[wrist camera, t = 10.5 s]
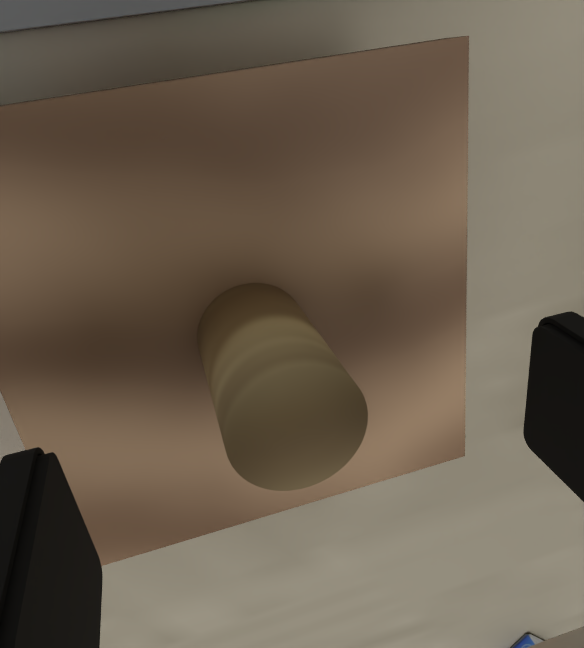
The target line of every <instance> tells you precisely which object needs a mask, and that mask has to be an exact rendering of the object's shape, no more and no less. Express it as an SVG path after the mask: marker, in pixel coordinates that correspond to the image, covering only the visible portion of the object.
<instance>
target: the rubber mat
mask: <svg viewBox="0 0 584 648" xmlns="http://www.w3.org/2000/svg"><path fill="white" fill-rule="evenodd" d="M246 1H254V0H0V33H4V32H11V31H19V30H27V29H35V28H43V27H51V26H58V25H66V24H74V23H82V22H90V21H97V20H105V19H113V18H121V17H129V16H136V15H144V14H152V13H160V12H168V11H176V10H183V9H191V8H199V7H207V6H215V5H222V4H230V3H238V2H246Z"/></svg>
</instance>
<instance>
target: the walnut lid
mask: <svg viewBox="0 0 584 648" xmlns="http://www.w3.org/2000/svg"><path fill="white" fill-rule="evenodd" d="M468 72H469V36H463V37H453V38H444V39H438V40H431V41H424V42H418V43H411V44H405V45H398V46H391V47H385V48H378V49H371V50H365V51H358V52H352V53H345V54H338V55H332V56H325V57H318V58H312V59H305V60H298V61H292V62H285V63H279V64H272V65H265V66H259V67H252V68H245V69H239V70H232V71H226V72H219V73H212V74H206V75H199V76H192V77H186V78H179V79H173V80H166V81H159V82H153V83H146V84H139V85H133V86H126V87H119V88H113V89H106V90H100V91H93V92H86V93H80V94H73V95H66V96H60V97H53V98H47V99H40V100H33V101H27V102H20V103H13V104H7V105H0V391H1V394H2V396H3V398H4V401H5V403H6V405H7V407H8V410H9V412H10V414H11V417H12V419H13V421H14V424H15V426H16V428H17V431H18V433H19V435H20V438H21V440H22V442H23V444H24V447H25V449H26V450H29V449H32V448H36V447H39V448H41V449H42V450H43V451H44V453H45V454H47V453H51V452H54V453H55V454H56V456H57V458H58V460H59V462H60V465H61V467H62V469H63V472H64V474H65V477H66V479H67V481H68V484H69V486H70V489H71V491H72V493H73V496H74V498H75V501H76V503H77V505H78V508H79V510H80V513H81V515H82V517H83V520H84V522H85V525H86V527H87V529H88V532H89V534H90V537H91V539H92V541H93V544H94V546H95V548H96V551H97V553H98V556H99V559H100V562H101V566H103V565H106V564H109V563H113V562H116V561H119V560H123V559H126V558H129V557H133V556H136V555H139V554H142V553H146V552H149V551H152V550H156V549H159V548H162V547H166V546H169V545H172V544H175V543H179V542H182V541H185V540H189V539H192V538H195V537H199V536H202V535H205V534H209V533H212V532H215V531H218V530H222V529H225V528H228V527H232V526H235V525H238V524H242V523H245V522H248V521H251V520H255V519H258V518H261V517H265V516H268V515H271V514H275V513H278V512H281V511H284V510H288V509H291V508H294V507H298V506H301V505H304V504H308V503H311V502H314V501H318V500H321V499H324V498H327V497H331V496H334V495H337V494H341V493H344V492H347V491H351V490H354V489H357V488H360V487H364V486H367V485H370V484H374V483H377V482H380V481H384V480H387V479H390V478H393V477H397V476H400V475H403V474H407V473H410V472H413V471H417V470H420V469H423V468H426V467H430V466H433V465H436V464H440V463H443V462H446V461H450V460H453V459H456V458H460V457H463V456H465V383H466V280H467V176H468Z"/></svg>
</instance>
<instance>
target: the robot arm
mask: <svg viewBox="0 0 584 648" xmlns="http://www.w3.org/2000/svg"><path fill="white" fill-rule="evenodd" d="M524 438H525V441H526V443H527V445H528V447H529V448H530V449H531V450H532V451H533V452H534V453H535V454H536V455H537V456H538V457H539V458H540V459H541V460H542V461H543V462H544V463H545V464H546V465H547V466H548V467H549V468H550V469H551V470H552V471H553V472H554V473H555V474H556V475H557V476H558V477H559V478H560V479H561V480H562V481H563V482H564V483H565V484H566V485H567V486H568V487H569V488H570V489H571V490H572V491H573V492H574V493H575V494H576V495H577V496H578V497H579V498H580V499H581V500H582V501H583V502H584V317H582V316H580V315H578V314H577V313H574V312H565V313H561V314H557V315H553V316H549V317H545V318H543V319H542V320H541V321H540V322H539V325H538V327H537V328H535V329H534V331H533V335H532V346H531V356H530V367H529V378H528V389H527V399H526V410H525V421H524ZM101 599H102V568H101V562H100V559H99V556H98V553H97V551H96V548H95V546H94V544H93V541H92V539H91V537H90V534H89V532H88V529H87V527H86V525H85V522H84V520H83V517H82V515H81V513H80V510H79V508H78V505H77V503H76V501H75V498H74V496H73V493H72V491H71V489H70V486H69V484H68V481H67V479H66V477H65V474H64V472H63V469H62V467H61V465H60V462H59V460H58V458H57V456H56V454H55V453H54V452H51V453H47V454H45V453H44V451H43V450H42V449H41V448H39V447H36V448H32V449H29V450H25V451H21V452H17V453H13V454H9V455H5V456H4V457H3V458H2V460H1V462H0V648H99V644H100V621H101ZM527 648H584V627H581V628H578V629H575V630H573V631H570V632H567V633H565V634H562V635H559V636H557V637H554V638H551V639H548V640H546V641H543V642H540V643H538V644H535V645H532V646H529V647H527Z"/></svg>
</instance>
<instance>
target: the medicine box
mask: <svg viewBox="0 0 584 648" xmlns="http://www.w3.org/2000/svg"><path fill="white" fill-rule="evenodd" d="M540 642H543V640H541V639H539V638H537V637H535V636H533V635H531V634H525V635H524V636H523V637H522V638H521V639H520V640H518V641H517V642H516V643H515V644H514V645H513V646H512V647H511V648H527V647H529V646H532V645H535V644H538V643H540Z"/></svg>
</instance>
